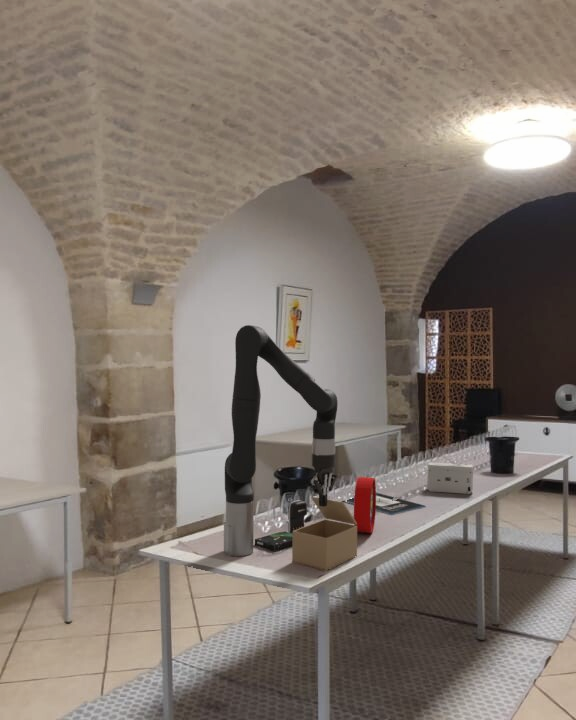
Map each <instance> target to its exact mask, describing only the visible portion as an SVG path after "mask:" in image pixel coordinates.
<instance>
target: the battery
mask: <svg viewBox="0 0 576 720" xmlns="http://www.w3.org/2000/svg"><path fill="white" fill-rule="evenodd" d="M287 510H288V511H287V513H288V514H287V515H288V516H287V518H288V519H287V520H288V522H287V523H288V528H287V529H288V531H287V532H288V533H292V534H293V531H294V530H297V529H299V528H302V527H305V523H304V522H305V517H306V516H308V505H307V502H306V501H303V500H300V499H299V500H298V499H297V500H293V501H290V502H289V504H288V509H287Z"/></svg>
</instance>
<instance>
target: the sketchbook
mask: <svg viewBox="0 0 576 720" xmlns="http://www.w3.org/2000/svg"><path fill="white" fill-rule="evenodd" d="M393 498H394V496H392V495H391V496H390V495H386V494H383V493H380V492H376V512H378V513H379V512H380V513H384V514H387V515H391V516H394V515H398V514H402V513H403V514H404V513H406V512H411V511H416V510H419V509H424V508H426V507H427V506H426V505H424V504H420V503H418V502H417V503H416V502H413V501H411V500H410V501H409V500H406V499H402V498H399V499H397V500H393V501H392V499H393ZM347 502H348V503H347V504H350V505H354V498H352V499H349V500H347ZM377 505H378V506H377Z"/></svg>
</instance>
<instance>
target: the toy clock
mask: <svg viewBox="0 0 576 720" xmlns="http://www.w3.org/2000/svg"><path fill="white" fill-rule="evenodd" d="M376 493H377V483H376V478H375V477H366V476H358V477H357V478H356V482H355V489H354V495H353V497H354V504H353V518H354V519H355V521H356V523H357V525H355V524H353V525H355V526H357V533H367V534H369V533H370V534H373V533H374V529H375V523H376V522H375V520H376V512H377V511H376Z"/></svg>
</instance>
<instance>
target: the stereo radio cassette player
mask: <svg viewBox="0 0 576 720" xmlns="http://www.w3.org/2000/svg"><path fill="white" fill-rule="evenodd" d="M430 450H431V452H433V449H430ZM434 453H435V454H437V455H439V456H440V457H443V458H444V459H446V460H447V461H449V462H435V461H434V462H432V461H430V462H428V463H427V490H428V491H429V492H430V493H432V492H436V493H452V494H463V495H464V494H466V495H470V494H471V493H472V492H473V489H474V465H473V464H471V463H469V464H468V463H467V464H466V463H457V462H455V461H454V460H451V459H449V458H447V457H446V456H445V455H443V454H441V453H438V452H436V451H434ZM450 462H451V463H450Z"/></svg>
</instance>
